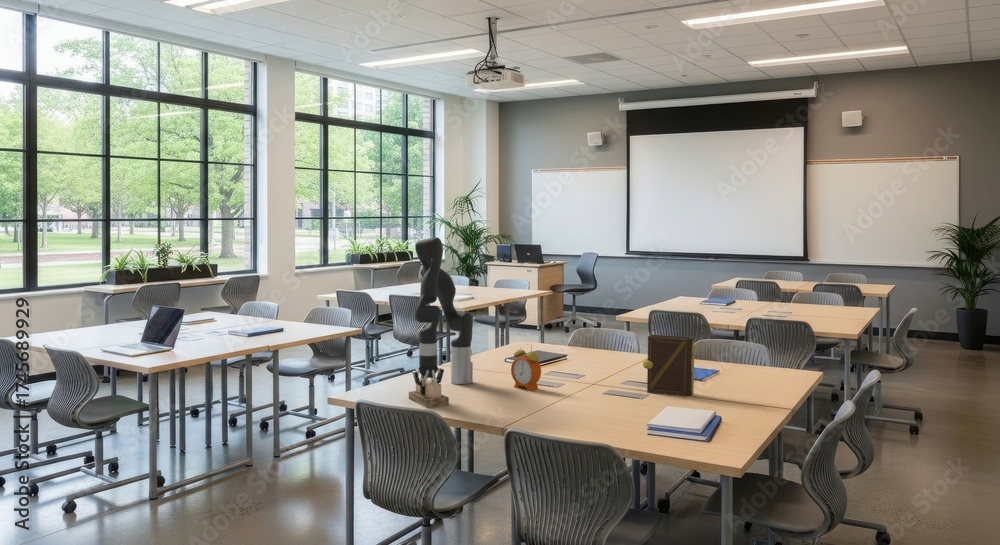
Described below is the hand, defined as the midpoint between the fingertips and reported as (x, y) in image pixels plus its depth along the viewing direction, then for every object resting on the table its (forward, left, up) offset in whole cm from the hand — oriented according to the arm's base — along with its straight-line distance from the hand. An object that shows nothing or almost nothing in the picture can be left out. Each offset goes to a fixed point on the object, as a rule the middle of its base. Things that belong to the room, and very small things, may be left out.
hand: (428, 393), depth 322 cm
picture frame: (0, 0, -3) cm, 3 cm away
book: (-98, +37, -3) cm, 105 cm away
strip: (0, 0, -1) cm, 1 cm away
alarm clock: (-49, -2, -3) cm, 49 cm away
